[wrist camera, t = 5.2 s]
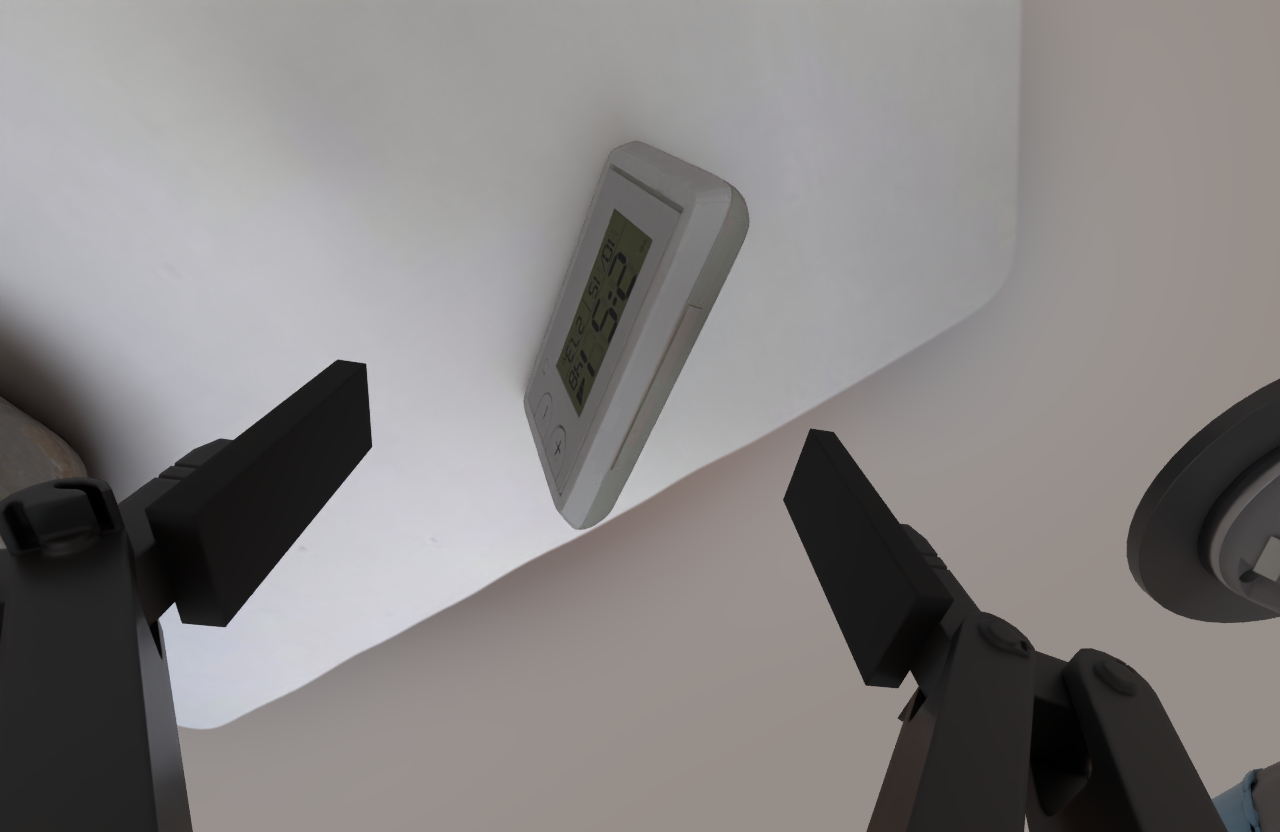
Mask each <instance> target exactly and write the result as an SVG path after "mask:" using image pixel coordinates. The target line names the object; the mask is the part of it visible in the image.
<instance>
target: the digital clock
mask: <svg viewBox="0 0 1280 832" xmlns="http://www.w3.org/2000/svg"><path fill="white" fill-rule="evenodd" d="M748 228H749V214H748V209H747V205H746V202H745V199H744V198H743V196H742V195H741V194H740V193H739V191H738V190H737V189H736V188H735V187H733V186H732V185H731V184H729V183H728V182H726V181H724V180H723V179H721V178H719V177H717V176H715V175H713V174H712V173H709V172H707V171H705V170H703V169H700V168H698V167H696V166H694V165H692V164H689V163H687V162H685V161H683V160H680V159H678V158H676V157H674V156H671V155H669V154H667V153H665V152H662V151H660V150H658V149H656V148H654V147H651V146H649V145H647V144H645V143H642V142H639V141H633V142H630V143H628V144H625V145H622V146H620V147H618V148H616V149H614V150H613V151H612V152H611V153H610V155H609V157H608V159H607V161H606V164H605V167H604V169H603V172H602V175H601V178H600V180H599V183H598V186H597V189H596V191H595V194H594V197H593V200H592V203H591V205H590V208H589V211H588V214H587V217H586V220H585V223H584V225H583V228H582V231H581V234H580V237H579V240H578V243H577V245H576V248H575V251H574V254H573V257H572V260H571V262H570V265H569V268H568V271H567V274H566V277H565V280H564V282H563V285H562V288H561V291H560V294H559V297H558V300H557V302H556V305H555V308H554V311H553V314H552V317H551V320H550V322H549V325H548V328H547V331H546V334H545V337H544V340H543V342H542V345H541V348H540V351H539V354H538V357H537V360H536V362H535V365H534V368H533V371H532V374H531V377H530V380H529V383H528V386H527V389H526V392H525V396H524V408H525V413H526V416H527V419H528V423H529V426H530V429H531V432H532V435H533V439H534V442H535V445H536V448H537V451H538V455H539V458H540V461H541V464H542V467H543V470H544V474H545V477H546V480H547V483H548V486H549V490H550V493H551V496H552V499H553V502H554V504H555V507H556V509H557V511H558V512H559V513H560V514H561V516H562V517H563V518H564V519H565V520H566V521H567V522H568V523H569V524H570V526H571V527H572V528H574V529H579V530H581V529H587V528H590V527H592V526H594V525H596V524H597V523H599V522H600V521H602V520H603V519H604V518H605V517H606V516H607V515H608V514H609V513H610V512H611V510H612V509H613V507H614V505H615V503H616V501H617V499H618V497H619V495H620V493H621V491H622V489H623V487H624V485H625V483H626V482H627V480H628V478H629V476H630V474H631V472H632V470H633V468H634V466H635V463H636V461H637V459H638V457H639V455H640V453H641V451H642V449H643V447H644V445H645V443H646V441H647V439H648V437H649V435H650V433H651V431H652V429H653V427H654V425H655V423H656V421H657V419H658V417H659V415H660V413H661V411H662V409H663V407H664V405H665V402H666V400H667V398H668V396H669V394H670V392H671V390H672V388H673V386H674V384H675V382H676V380H677V378H678V376H679V374H680V372H681V370H682V368H683V366H684V364H685V362H686V360H687V358H688V356H689V354H690V352H691V350H692V348H693V346H694V344H695V341H696V339H697V337H698V335H699V333H700V331H701V329H702V327H703V325H704V323H705V321H706V319H707V317H708V315H709V313H710V311H711V309H712V307H713V305H714V303H715V301H716V299H717V297H718V295H719V293H720V291H721V288H722V286H723V284H724V282H725V280H726V278H727V276H728V274H729V272H730V270H731V268H732V266H733V263H734V261H735V259H736V257H737V255H738V253H739V250H740V248H741V246H742V244H743V242H744V240H745V237H746V234H747V231H748Z"/></svg>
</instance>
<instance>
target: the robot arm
mask: <svg viewBox="0 0 1280 832" xmlns="http://www.w3.org/2000/svg"><path fill="white" fill-rule="evenodd" d="M371 448H372V438H371V424H370V410H369V396H368V382H367V369H366V364H364V363H358V362H351V361H344V360H336V361H335V362H334V363H333V364H331V365H330V366H329V367H327V368H326V369H325V370H323V371H322V372H321V373H320V374H318V375H317V376H316V377H314V378H313V379H312V380H311V381H309V382H308V383H307V384H305V385H304V386H303V387H301V388H300V389H299V390H298V391H296V392H295V393H294V394H292V395H291V396H290V397H289V398H287V399H286V400H285V401H283V402H282V403H281V404H280V405H278V406H277V407H276V408H274V409H273V410H272V411H270V412H269V413H268V414H267V415H265V416H264V417H263V418H261V419H260V420H259V421H258V422H256V423H255V424H254V425H252V426H251V427H250V428H248V429H247V430H246V431H245V432H243V433H242V434H241V435H239V436H238V437H237V438H236V439H234V440H228V439H218V440H216V441H213V442H211V443H208V444H206V445H203V446H201V447H198V448H196V449H194V450H192V451H191V452H190V453H188V454H187V455H185V456H184V457H183V458H181V459H180V460H179V461H177V462H176V463H175V466H170V467H169V468H168V469H166V470H165V471H163V472H162V473H161V474H159V477H158V478H154V479H152V480H151V481H150V482H148V483H147V484H145V485H144V486H143V487H141V488H140V489H139V490H137V491H136V492H134V493H133V494H132V495H130V496H129V497H127V498H126V499H125V500H123V501H122V502H121V503H119V504H118V505H117V502H116V500H115V497H114V494H113V491H112V489H111V487H110V486H109V484H108V483H107V482H105V481H102V480H99V479H96V478H86V477H72V478H64V479H55V480H51V481H47V482H43V483H40V484H36V485H32V486H30V487H27V488H25V489H22V490H20V491H18V492H15V493H13V494H11V495H9V496H8V497H6V498H5V499H3V500H2V501H0V535H1V537H2V539H3V541H4V543H5V545H6V547H7V548H5V549H0V832H193V830H192V824H191V817H190V810H189V804H188V797H187V790H186V784H185V778H184V770H183V763H182V757H181V750H180V744H179V737H178V730H177V723H176V717H175V710H174V703H173V697H172V690H171V683H170V677H169V670H168V663H167V657H166V650H165V643H164V637H163V630H162V627H161V625H160V622H159V618H160V617H161V615H162V614H163V613H164V612H165V611H166V610H167V609H168V608H169V607H170V606H171V605H172V604H173V603H174V602H175V603H176V606H177V609H178V612H179V615H180V618H181V621H182V623H184V624H195V625H206V626H217V627H226V626H227V625H228V623H229V622H230V621H231V620H232V618H233V617H234V616H235V615H236V613H237V612H238V611H239V610H240V609H241V607H242V606H243V605H244V604H245V602H246V601H247V600H248V599H249V597H250V596H251V595H252V594H253V593H254V591H255V590H256V589H257V588H258V586H259V585H260V584H261V583H262V582H263V580H264V579H265V578H266V577H267V575H268V574H269V573H270V572H271V570H272V569H273V568H274V567H275V566H276V564H277V563H278V562H279V561H280V559H281V558H282V557H283V556H284V554H285V553H286V552H287V551H288V550H289V548H290V547H291V546H292V545H293V543H294V542H295V541H296V540H297V538H298V537H299V536H300V535H301V534H302V532H303V531H304V530H305V529H306V527H307V526H308V525H309V524H310V523H311V521H312V520H313V519H314V518H315V516H316V515H317V514H318V513H319V511H320V510H321V509H322V508H323V507H324V505H325V504H326V503H327V502H328V500H329V499H330V498H331V497H332V495H333V494H334V493H335V492H336V491H337V489H338V488H339V487H340V486H341V484H342V483H343V482H344V481H345V480H346V478H347V477H348V476H349V475H350V473H351V472H352V471H353V470H354V468H355V467H356V466H357V465H358V464H359V462H360V461H361V460H362V459H363V457H364V456H365V455H366V454H367V452H368V451H369V450H370V449H371ZM783 500H784V503H785V505H786V507H787V510H788V512H789V514H790V516H791V519H792V521H793V523H794V525H795V528H796V530H797V532H798V534H799V537H800V539H801V541H802V543H803V545H804V548H805V550H806V552H807V554H808V556H809V559H810V561H811V563H812V566H813V568H814V570H815V573H816V575H817V577H818V579H819V582H820V584H821V586H822V588H823V591H824V593H825V595H826V597H827V600H828V602H829V604H830V606H831V609H832V611H833V613H834V615H835V617H836V620H837V622H838V624H839V626H840V629H841V631H842V633H843V635H844V637H845V640H846V642H847V644H848V647H849V649H850V651H851V653H852V656H853V658H854V660H855V662H856V665H857V667H858V669H859V671H860V674H861V676H862V678H863V680H864V682H865V685H867V686H878V687H890V688H899V686H900V685H901V683H902V682H903V680H904V678H905V677H906V675H907V674H908V672H909V671H910V670H911V672H912V674H913V676H914V678H915V680H916V681H917V684H918V685H919V687H918V688H917V690H916V691H915V693H914V694H913V696H912V698H911V699H910V700H909V702H908V703H907V705H906V706H905V708H904V709H903V711H902V712H901V714H900V715H899V717H898V719H899V720H901V721H904V722H903V725H902V728H901V731H900V734H899V737H898V740H897V743H896V745H895V749H894V751H893V754H892V757H891V760H890V764H889V766H888V769H887V773H886V775H885V779H884V781H883V784H882V787H881V790H880V793H879V796H878V799H877V802H876V805H875V808H874V811H873V814H872V817H871V820H870V823H869V826H868V829H867V832H1024V825H1025V813H1026V818H1027V823H1028V828H1029V832H1280V762H1278V763H1276V764H1273V765H1271V766H1269V767H1267V768H1265V769H1262V768H1261V769H1256V770H1253V771H1250V772H1249V773H1247V774H1246V776H1245V777H1244V779H1243V781H1242V782H1240V783H1239V784H1237V785H1236V786H1234V787H1233V788H1231V789H1229V790H1227V791H1226V792H1224V793H1222V794H1220V795H1219V796H1217V797H1215V798H1213V799H1212V800H1211V798H1210V796H1209V794H1208V792H1207V790H1206V788H1205V786H1204V785H1203V783H1202V781H1201V779H1200V777H1199V775H1198V773H1197V771H1196V769H1195V767H1194V765H1193V763H1192V761H1191V760H1190V758H1189V756H1188V754H1187V752H1186V750H1185V748H1184V746H1183V744H1182V742H1181V740H1180V738H1179V736H1178V735H1177V733H1176V731H1175V729H1174V727H1173V725H1172V723H1171V721H1170V719H1169V717H1168V715H1167V714H1166V711H1165V710H1164V708H1163V706H1162V704H1161V702H1160V700H1159V698H1158V696H1157V695H1156V693H1155V692H1154V690H1153V689H1152V688H1151V686H1150V685H1149V683H1148V682H1147V681H1146V680H1145V679H1144V678H1142V677H1141V676H1140V675H1139V674H1138V673H1137V672H1136V671H1135V670H1134V669H1133V668H1131V667H1130V666H1129V665H1126V663H1124V662H1123V661H1121V660H1119V659H1117V658H1114V657H1113V656H1111V655H1109V654H1107V653H1105V652H1101V651H1098V650H1094V649H1091V648H1090V649H1080V650H1079V651H1078V652H1077V653H1076V654H1075V655H1074V657H1073V658H1072V659H1071V660H1070V661H1069V662H1066V661H1063V660H1060V659H1057V658H1055V657H1052V656H1049V655H1046V654H1043V653H1040V652H1037V651H1035V649H1034V647H1033V646H1032V644H1031V643H1030V641H1029V640H1028V638H1027V637H1026V636H1024V635H1023V634H1022V633H1021V632H1020V631H1019V630H1018V629H1017V628H1016V627H1014V626H1013V625H1011V624H1010V623H1008V622H1006V621H1005V620H1003V619H1001V618H999V617H997V616H995V615H992V614H990V613H986V612H981V611H980V610H979V608H978V607H977V606H976V604H975V603H974V602H973V601H972V599H971V598H970V597H969V595H968V594H967V593H966V591H965V590H964V589H963V587H962V586H961V585H960V583H959V582H958V581H957V580H956V578H955V577H954V576H953V574H952V573H951V572H950V570H947V566H946V565H945V564H944V562H943V561H942V560H941V559H940V557H937V553H936V552H935V550H934V549H933V548H932V546H931V545H930V544H929V542H928V541H927V540H926V539H925V538H924V537H923V536H921V535H920V534H919V533H918V532H917V531H915V530H914V529H913V528H912V527H910V526H909V525H906V524H900V523H899V522H898V521H897V519H896V518H895V516H894V515H893V514H892V513H891V511H890V509H889V508H888V507H887V505H886V504H885V503H884V501H883V500H882V498H881V497H880V496H879V494H878V493H877V491H876V490H875V489H874V487H873V486H872V484H871V483H870V482H869V480H868V479H867V478H866V476H865V475H864V473H863V472H862V471H861V469H860V468H859V466H858V465H857V464H856V462H855V461H854V459H853V458H852V457H851V455H850V454H849V453H848V451H847V450H846V448H845V447H844V446H843V444H842V443H841V442H840V440H839V439H838V437H837V436H836V435H835V433H834V432H830V431H823V430H816V429H810V430H809V433H808V436H807V438H806V441H805V444H804V447H803V449H802V452H801V454H800V457H799V460H798V462H797V465H796V467H795V470H794V473H793V476H792V478H791V481H790V484H789V486H788V489H787V491H786V494H785V497H784V499H783ZM1198 551H1199V557H1200V560H1201V563H1202V564H1203V566H1204V568H1205V569H1206V570H1207V571H1208V573H1210V574H1211V575H1212V576H1213V577H1214V578H1216V579H1217V580H1218V581H1220V582H1221V583H1223V584H1224V585H1225V586H1227V587H1228V588H1229V589H1231V590H1232V591H1233V592H1235V593H1237V594H1238V595H1241V596H1243V597H1244V598H1246V599H1248V600H1250V601H1251V602H1254V603H1256V604H1258V605H1261V606H1263V607H1265V608H1268V609H1270V610H1272V611H1275V612H1277V613H1279V614H1280V445H1279V446H1278V447H1276V448H1275V449H1273V450H1272V451H1270V452H1269V453H1267V454H1266V455H1264V456H1263V457H1261V458H1260V459H1259V460H1257V461H1256V462H1255V463H1254V464H1252V465H1251V466H1250V467H1249V468H1247V469H1246V470H1245V471H1244V472H1243V473H1242V474H1241V475H1240V476H1238V477H1237V478H1236V479H1235V480H1234V481H1233V482H1232V483H1231V484H1230V485H1229V486H1228V488H1227V489H1226V490H1225V491H1224V492H1223V493H1222V495H1221V496H1220V497H1219V498H1218V500H1217V501H1216V502H1215V504H1214V505H1213V507H1212V508H1211V510H1210V512H1209V513H1208V515H1207V517H1206V519H1205V521H1204V524H1203V526H1202V529H1201V532H1200V536H1199V542H1198Z"/></svg>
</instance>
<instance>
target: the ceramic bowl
mask: <svg viewBox="0 0 1280 832" xmlns="http://www.w3.org/2000/svg"><path fill="white" fill-rule="evenodd" d="M72 477H86V478H88V476H87V471H86V468H85V465H84V464H83V462H82V461H81V459H80V457H79V455H78V454H77V453H76V452H75V451H74V450H73V449H72V448H71V447H70V446H69V445H68V443H67V442H66V441H65V440H63V439H62V438H61V437H59V436H58V435H57V434H55V433H54V432H52V431H51V430H50V429H48V428H47V427H46V426H44V425H43V424H41V423H40V422H38V421H37V420H35V419H34V418H32V417H30V416H29V415H27V414H26V413H24V412H23V411H21V410H19V409H18V408H16V407H15V406H13V405H12V404H10V403H9V402H8V401H6V400H5V399H4V398H2V397H1V396H0V501H2V500H3V499H5V498H6V497H8V496H9V495H11V494H13V493H15V492H18V491H20V490H22V489H25V488H27V487H30V486H32V485H36V484H40V483H43V482H47V481H51V480H55V479H64V478H72ZM5 548H7V547H6V545H5V543H4V541H3V539H2V537H1V535H0V549H5Z"/></svg>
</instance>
